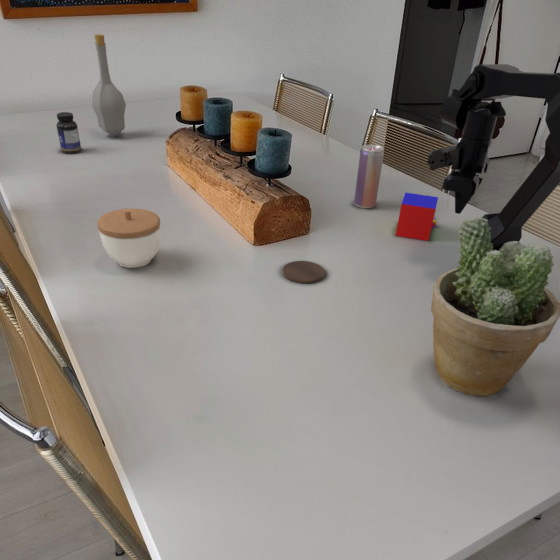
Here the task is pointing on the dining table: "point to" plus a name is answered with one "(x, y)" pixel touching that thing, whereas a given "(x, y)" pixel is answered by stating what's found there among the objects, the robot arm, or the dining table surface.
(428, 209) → the cube
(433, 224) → the building blocks
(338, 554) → the dining table surface
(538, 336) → the potted plant
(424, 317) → the dining table surface
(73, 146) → the pill bottle
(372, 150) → the beverage can
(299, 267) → the coaster
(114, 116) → the bottle
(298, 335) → the dining table surface
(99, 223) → the lidded bowl
